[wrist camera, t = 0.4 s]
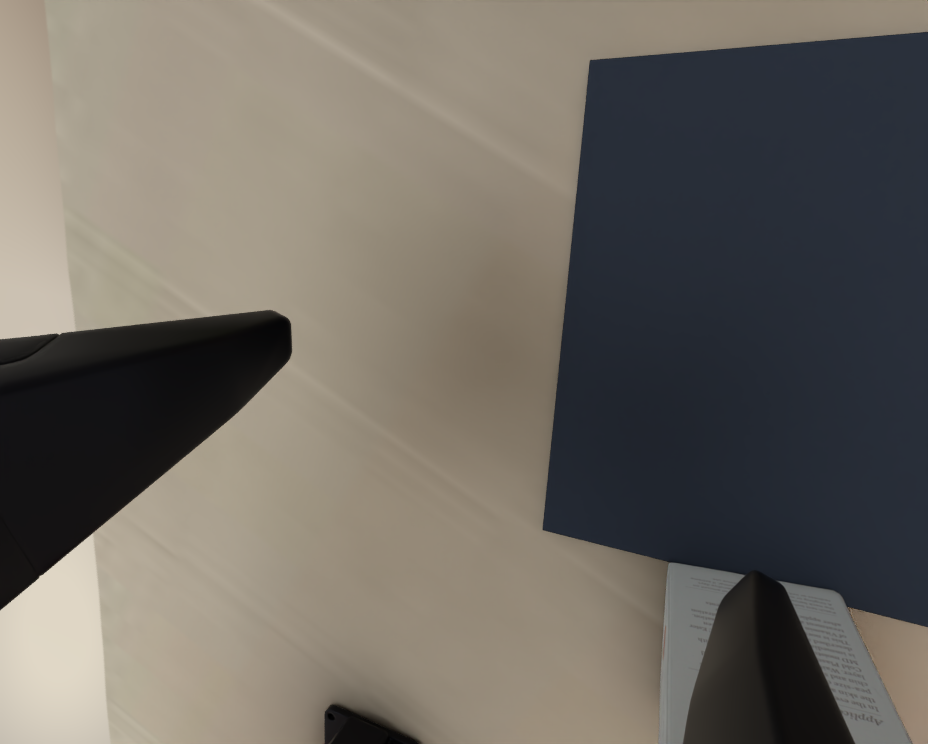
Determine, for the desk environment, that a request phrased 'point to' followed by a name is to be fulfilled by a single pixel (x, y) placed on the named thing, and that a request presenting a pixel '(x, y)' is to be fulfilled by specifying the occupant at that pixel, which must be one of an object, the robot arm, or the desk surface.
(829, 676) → the small box
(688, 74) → the mat
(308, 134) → the desk surface
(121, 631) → the desk surface
